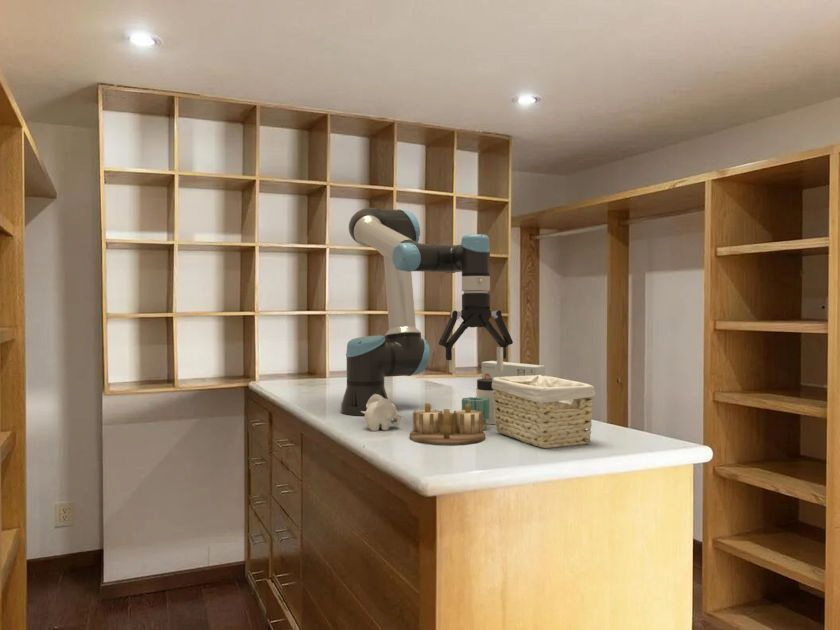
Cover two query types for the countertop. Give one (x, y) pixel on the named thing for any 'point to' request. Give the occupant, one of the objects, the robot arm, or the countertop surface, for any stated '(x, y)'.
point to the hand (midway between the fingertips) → (476, 372)
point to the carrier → (447, 426)
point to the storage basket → (543, 410)
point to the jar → (487, 392)
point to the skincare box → (511, 369)
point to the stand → (484, 424)
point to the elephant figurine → (380, 413)
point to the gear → (477, 405)
